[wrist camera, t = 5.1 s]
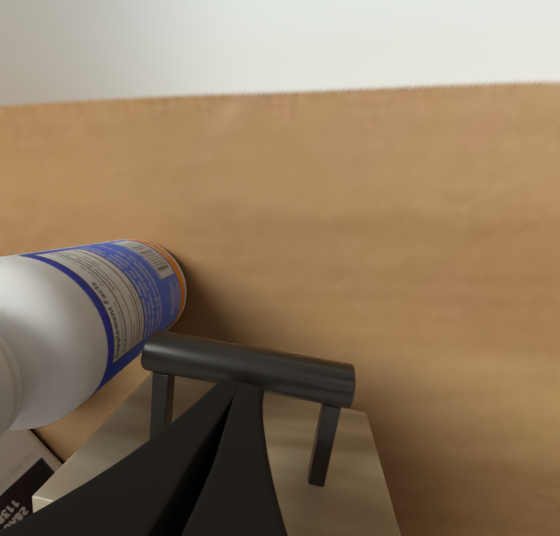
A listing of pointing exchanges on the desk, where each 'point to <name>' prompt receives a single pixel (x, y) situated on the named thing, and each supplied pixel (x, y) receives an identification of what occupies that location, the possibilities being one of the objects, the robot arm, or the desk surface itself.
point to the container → (22, 473)
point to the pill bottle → (78, 322)
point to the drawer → (277, 425)
